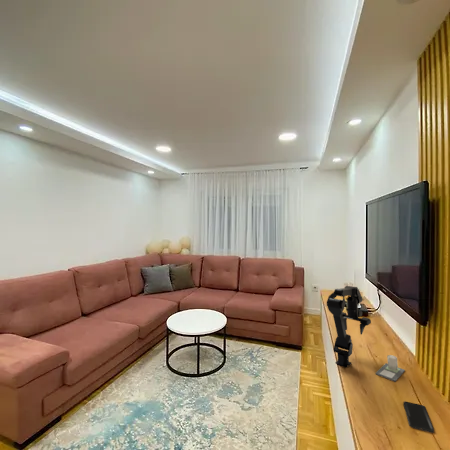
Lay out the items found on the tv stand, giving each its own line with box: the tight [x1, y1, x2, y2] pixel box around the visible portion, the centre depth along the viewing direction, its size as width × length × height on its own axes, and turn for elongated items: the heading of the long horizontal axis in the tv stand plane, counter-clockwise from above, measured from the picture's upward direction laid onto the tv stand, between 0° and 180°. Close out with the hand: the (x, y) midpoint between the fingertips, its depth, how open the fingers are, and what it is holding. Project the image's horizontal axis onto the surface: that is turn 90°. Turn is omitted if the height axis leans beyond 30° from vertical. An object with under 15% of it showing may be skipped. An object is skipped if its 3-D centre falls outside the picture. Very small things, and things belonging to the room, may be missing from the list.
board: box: [375, 362, 406, 383], centre depth 135 cm, size 14×9×1 cm, turn 129°
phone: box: [402, 400, 435, 434], centre depth 104 cm, size 8×1×15 cm
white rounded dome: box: [387, 354, 399, 371], centre depth 137 cm, size 4×4×6 cm
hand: (353, 332), depth 158 cm, fingers open, 9 cm apart
